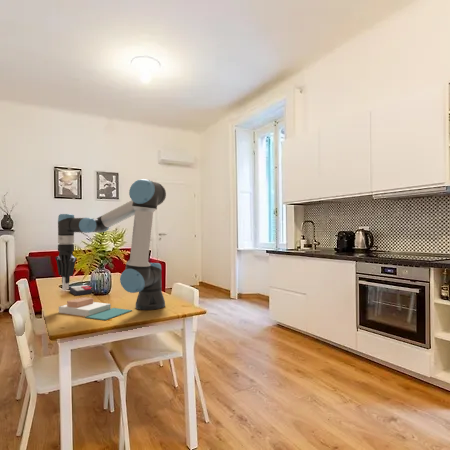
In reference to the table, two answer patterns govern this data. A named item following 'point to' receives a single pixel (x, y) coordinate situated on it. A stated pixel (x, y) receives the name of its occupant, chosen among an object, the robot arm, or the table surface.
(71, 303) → the tile
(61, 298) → the table surface
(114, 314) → the mat
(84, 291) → the calculator
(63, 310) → the panel
